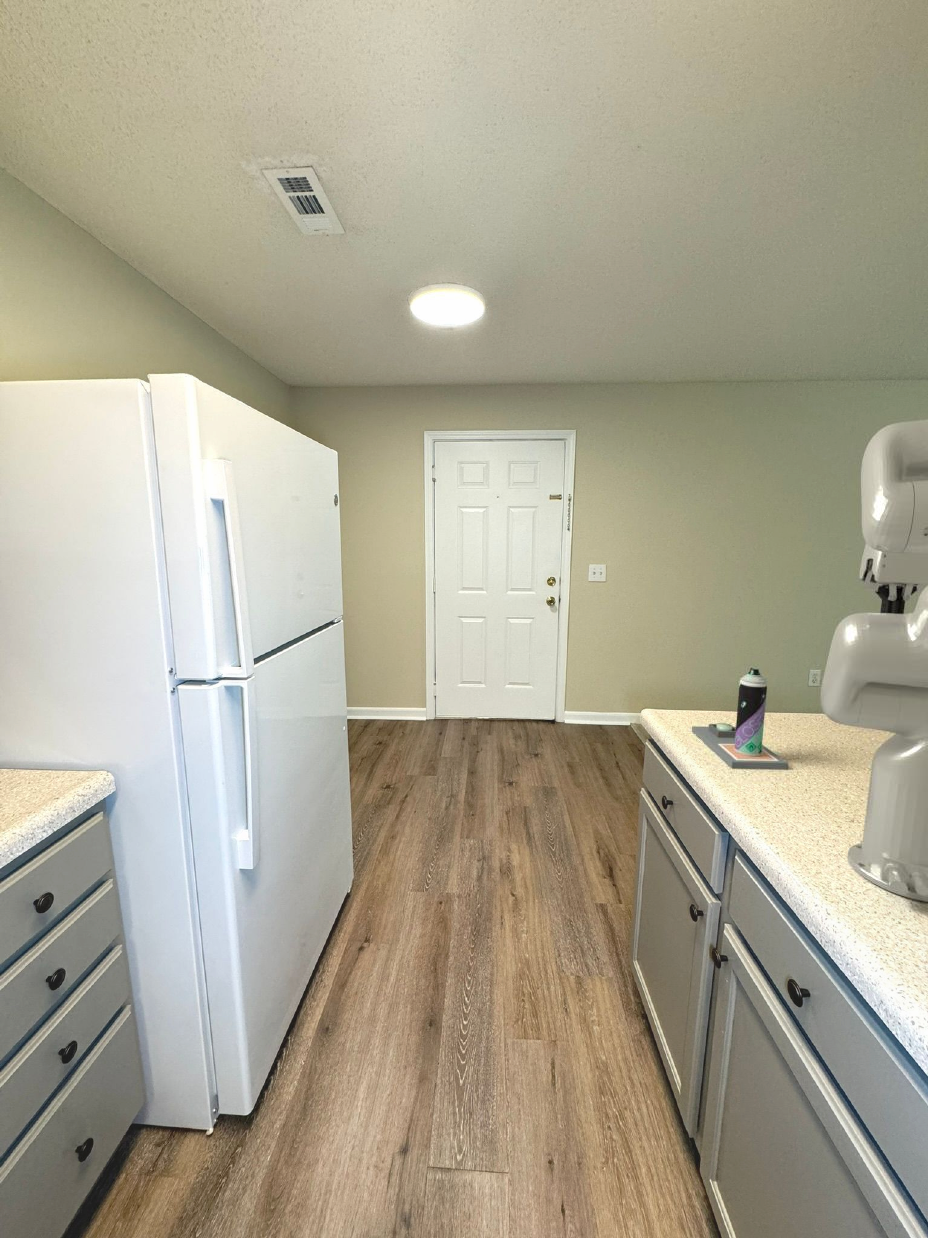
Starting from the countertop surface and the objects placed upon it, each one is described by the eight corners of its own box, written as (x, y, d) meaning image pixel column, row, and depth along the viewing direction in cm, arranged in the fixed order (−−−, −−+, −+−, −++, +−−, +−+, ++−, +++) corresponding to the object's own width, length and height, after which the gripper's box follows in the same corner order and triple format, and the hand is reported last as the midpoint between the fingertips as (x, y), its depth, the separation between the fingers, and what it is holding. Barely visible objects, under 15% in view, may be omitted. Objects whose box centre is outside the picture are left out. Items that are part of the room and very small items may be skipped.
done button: (734, 734, 124) (735, 728, 124) (720, 734, 124) (720, 727, 124) (727, 729, 128) (728, 723, 127) (713, 728, 128) (714, 722, 128)
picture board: (787, 769, 109) (788, 756, 109) (731, 768, 110) (732, 755, 109) (737, 732, 131) (738, 721, 130) (691, 731, 132) (692, 720, 131)
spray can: (734, 754, 113) (741, 669, 111) (734, 745, 118) (740, 664, 115) (761, 758, 111) (769, 672, 108) (760, 750, 116) (767, 667, 113)
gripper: (927, 522, 93) (915, 618, 96) (846, 523, 94) (835, 618, 97) (965, 520, 86) (950, 624, 89) (876, 521, 87) (864, 624, 89)
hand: (890, 620), depth 93 cm, fingers closed
